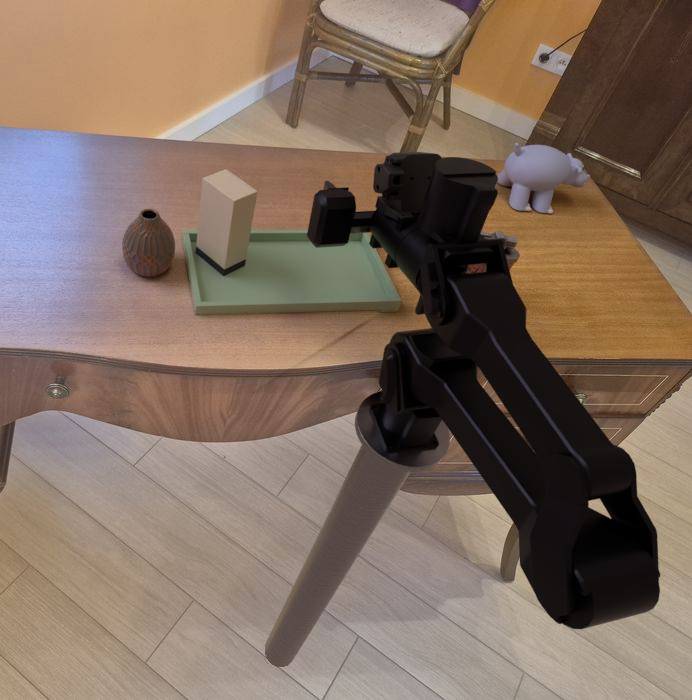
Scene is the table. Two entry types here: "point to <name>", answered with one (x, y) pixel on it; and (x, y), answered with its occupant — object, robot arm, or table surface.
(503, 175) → the hippopotamus toy
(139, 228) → the vase
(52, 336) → the table surface
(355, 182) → the table surface
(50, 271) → the table surface
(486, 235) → the lighter
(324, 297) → the tray
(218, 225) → the eraser
